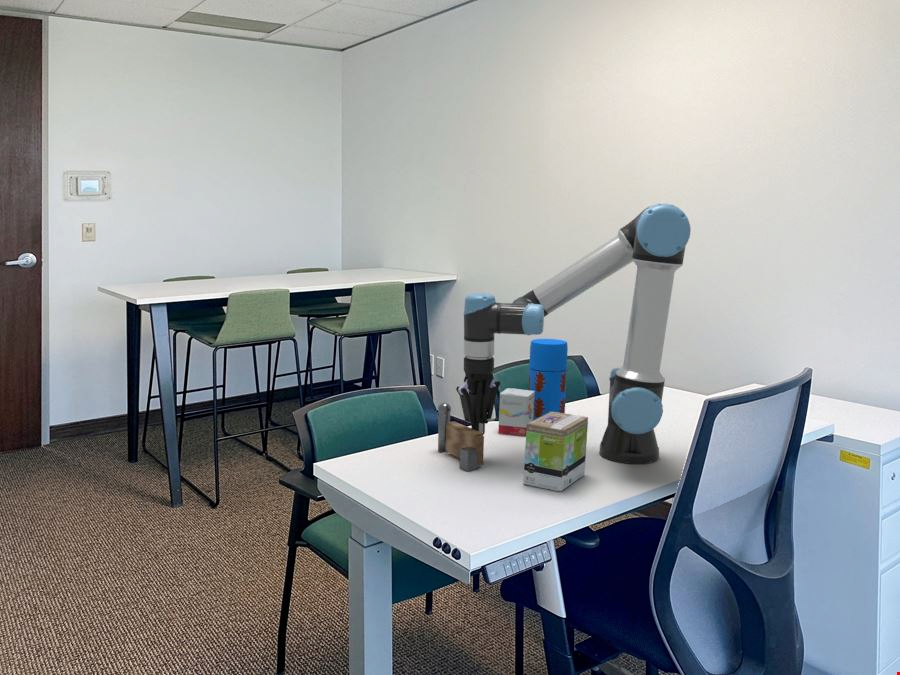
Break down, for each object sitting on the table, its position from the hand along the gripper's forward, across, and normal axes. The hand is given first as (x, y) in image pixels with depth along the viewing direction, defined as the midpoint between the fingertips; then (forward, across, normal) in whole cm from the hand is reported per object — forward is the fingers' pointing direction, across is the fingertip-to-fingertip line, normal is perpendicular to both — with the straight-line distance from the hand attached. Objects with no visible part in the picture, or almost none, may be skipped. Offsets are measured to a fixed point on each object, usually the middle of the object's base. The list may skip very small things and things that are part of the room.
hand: (477, 447), depth 206 cm
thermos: (+5, -38, -13) cm, 41 cm away
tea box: (+3, -4, +22) cm, 23 cm away
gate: (+2, +4, -1) cm, 4 cm away
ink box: (+4, -26, -14) cm, 30 cm away
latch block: (+3, +7, +4) cm, 9 cm away
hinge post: (+3, +3, -10) cm, 11 cm away
